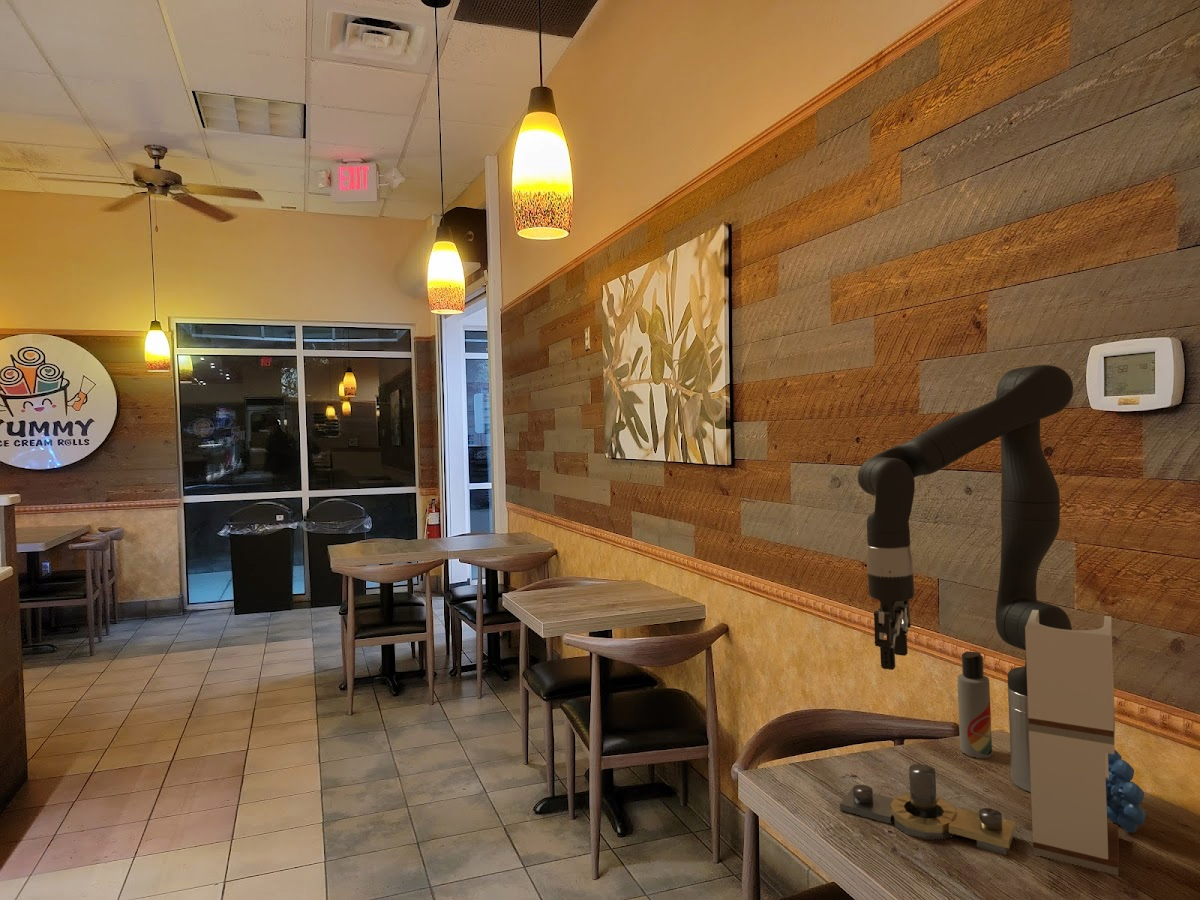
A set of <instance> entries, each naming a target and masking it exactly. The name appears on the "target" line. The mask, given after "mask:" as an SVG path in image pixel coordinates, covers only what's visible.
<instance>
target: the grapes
mask: <svg viewBox="0 0 1200 900" xmlns="http://www.w3.org/2000/svg"><path fill="white" fill-rule="evenodd" d="M1108 770H1109V779H1106V803H1107V819H1109V820H1110V821H1111V822H1112V823H1113V824H1116V825H1118V826H1120V827H1121V828H1122V829H1123V830H1125V831H1126V832H1128V833H1132V834H1133V833H1135V832H1137V830H1138V828H1139V826H1141V825H1142V824H1144V823H1145V820H1146V818H1147V817H1146V816H1147V813H1146V811H1145V810H1144V809H1143V807H1142V806H1141V805H1140V804H1141V803H1142V802H1143V800H1144V797H1145V792H1144V790H1143V789H1142V788H1141V787H1140V785H1138V783H1135V782H1134V781H1132V780H1134V779H1133V778H1134V776H1135V769H1134V768H1133V766H1132V765H1131V764H1130V763H1129V762H1128V761H1125V760H1124V759H1123V758H1122V755H1121V754H1120V753H1119V752H1118V751H1117V750H1116V749H1114V754H1109V753H1108Z"/></svg>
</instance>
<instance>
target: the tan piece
mask: <svg viewBox="0 0 1200 900" xmlns="http://www.w3.org/2000/svg"><path fill="white" fill-rule="evenodd" d="M873 790H874V789H873V788H872V787H871V786H869V785H866V784H856V785H854V786H853V787H852V788H851V789H850V791H849V792H848V793H847V794H846V795H845V797H844V798H843V799H842V800H841V802H840V803H839V811H840V810H842V811H841V812H843V811H845V812H844V813H847V812H849V813H848V814H851V813H853V814H852V815H854V814H856V815H855V816H858V815H860V816H859V817H862V816H863V817H862V818H866V817H867V818H866V819H869V818H870V820H873V819H874V821H878V820H879V821H878V822H880V821H881V822H880V823H884V822H887V823H886V824H888V823H890V824H889V825H892V823H894V824H893V825H895V826H894V828H896V829H898V830H899V831H901V832H902V831H903V834H906V835H907V836H910V837H914V836H915V838H917V837H918V839H921V840H924V841H925V840H926V841H927V840H928V841H930V840H931V841H932V840H933V841H944V840H947V839H950V838H952V837H955V836H959V837H960V836H961V837H964V838H967V839H972V840H975V841H976V848H978V849H981V850H985V851H989V852H991V853H995V854H999V855H1002V856H1006V855H1007V853H1008V850H1009V849H1010V847H1011V845H1012V841H1013V838H1014V835H1015V833H1016V829H1017V827H1016V821H1014V820H1010V819H1006V818H1003V814H1002V813H1001V812H1000V811H999V810H997V809H993V808H990V807H983V808H980V809H979V810H978V812H977V811H973V810H968V809H965V808H959V807H957V808H955V805H953V804H952V803H950V802H948V801H946V800H944V799H942V798H940V797H937V796H936V801H937V818H921V817H917V816H914V815H912V814H911V803H910V793H906V794H903V795H898V796H895V797H894V798H892V797H888V796H884V795H880V794H876V793H874V791H873ZM892 821H893V822H892ZM955 834H956V835H955ZM954 835H955V836H954ZM951 836H952V837H951ZM949 837H950V838H949ZM946 838H947V839H946ZM935 839H936V840H935ZM937 839H938V840H937ZM940 839H941V840H940ZM943 839H944V840H943Z"/></svg>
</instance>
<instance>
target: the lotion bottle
mask: <svg viewBox="0 0 1200 900" xmlns="http://www.w3.org/2000/svg"><path fill="white" fill-rule="evenodd" d="M961 667H962V669H961V670H962V673H959V674H958V675H957V679H956V680H957V702H958V704H957V705H958V707H957V708H958V728H959V729H958V731H959V748H960V752H961V751H962V752H963V753H965V754H966V755H965V754H964V755H965V756H967V755H968V756H967V757H970V756H971V757H970V758H973V757H976V758H975V759H988V758H990V757H991V756H993V755H992V754H993V739H992V738H993V737H992V717H991V716H992V715H991V714H992V713H991V712H992V711H991V693H990V692H991V691H990V687H991V685H990V679H989V677H987V676H986V675H984V657H983V655H982V654H981V653H980V652H979V651H965V652H963V653H962V654H961ZM962 752H961V753H962ZM963 753H962V754H963Z"/></svg>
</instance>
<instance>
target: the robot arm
mask: <svg viewBox="0 0 1200 900" xmlns="http://www.w3.org/2000/svg"><path fill="white" fill-rule="evenodd" d="M1073 393H1074V383H1073V380H1072V378H1071V377H1070V375H1069V373H1067V372H1066V370H1064V369H1062V368H1061V367H1059V366H1057V365H1050V364H1038V365H1031V366H1025V367H1022V366H1021V367H1017V368H1013V369H1010V370H1008V371H1007V372H1006V373H1004V374H1003V376H1002V377H1001V378H1000V379H999V381H998V384H997V387H996V397H995V399H992V400H991V401H988V402H987V403H986V404H983V405H980V406H978V407H976V408H974V409H970V410H967V411H966V412H963V413H961V414H958V415H955V416H953V417H950V418H948V419H945V420H944V421H943V420H942V422H940V423H937V424H935V425H934V426H932V427H930V428H929V429H926V431H923V432H922V433H920V434H918V435H916V436H915V437H912V439H910V440H909V441H908V440H907V441H906V442H904V443H901V444H898V445H896V446H894V447H893V446H892V447H891V448H888V449H886V450H884V451H882V452H879V453H877V454H875V455H873V456H871V457H870V458H868V459H867V460H866V461H864V463H862V465H861V466H860V468H859V470H858V472H857V482H858V485H859V487H860V488H861V489H862V490H863V491H864V492H865V493H867V494H868V495H871V496H874V497H875V500H874V511H873V512H871V513H869V514H868V516H867V519H866V536H867V537H866V538H867V539H866V541H867V542H866V543H867V552H866V566H867V567H866V569H867V583H868V585H867V587H868V595H869V597H870V598H872V599H873V600H878V602H880V604H879V608H878V610H874V612H873V620H874V623H873V624H874V625H873V626H874V646H875V647H878V648H879V654H880V667H881V668H882V669H883V670H892V671H893V670H895V668H896V656H902V657H903V656H904V657H906V656H907V655H908V634H909V629H911V626H912V625H911V624H912V623H911V614H910V600H911V599H913V598H914V597H915V580H914V562H913V553H912V548H911V534H910V533H911V531H910V530H911V529H910V523H909V522H910V517H911V513H912V510H913V509H912V508H913V503H914V496H915V488H916V487H915V486H916V485H915V484H916V482H915V478H916V477H919V476H926V475H931V474H935V473H936V472H938V471H940V470H942V469H944V468H946V467H948V466H949V465H950V464H952V463H954V462H956V461H958V460H959V459H962V457H964V456H966V455H967V454H969V453H971V452H973V451H974V450H976V449H978V448H980V447H982V446H984V445H987V443H988V444H989V443H990V442H992V441H994V440H995V439H997V438H1000V454H1001V457H1000V466H1001V470H1000V471H1001V475H1000V476H1001V487H1000V489H1001V490H1000V491H1001V492H1000V524H1001V525H1000V526H1001V536H1000V537H1001V543H1000V544H1001V546H1000V572H999V581H998V589H997V596H996V597H997V598H996V604H995V605H996V606H995V627H996V630H997V634H998V635H999V637H1000V638H1001V640H1002V641H1003V642H1005V643H1006V644H1008V645H1010V646H1012V647H1014V648H1017V649H1019V650H1023V651H1025V652H1026V639H1025V626H1026V624H1027V622H1028V619H1029V617H1030V614H1031V612H1032V610H1039V624H1041V625H1044V626H1047V627H1052V628H1057V629H1065V630H1073V628H1072V627H1073V626H1072V624H1071V623H1072V622H1071V620H1070V618H1069V616H1068V614H1067V613H1066V612H1065V610H1064V609H1062V608H1061V607H1058V606H1056V605H1054V604H1050V603H1046V602H1043V601H1039V600H1038V598H1037V596H1038V595H1037V579H1038V573H1039V569H1040V568H1039V567H1040V566H1041V563H1042V561H1043V559H1044V558H1045V557H1046V555H1047V554H1048V552H1049V550H1050V549H1051V547H1052V545H1053V543H1054V542H1055V540H1056V538H1057V536H1058V533H1059V531H1060V525H1061V523H1060V522H1061V520H1060V517H1061V516H1060V515H1061V513H1060V512H1061V510H1060V509H1061V503H1060V502H1061V495H1060V489H1059V486H1058V483H1057V481H1056V478H1055V476H1054V473H1053V471H1052V469H1051V467H1050V465H1049V463H1048V461H1047V459H1046V456H1045V453H1044V451H1043V448H1042V443H1041V420H1042V419H1046V418H1048V417H1051V416H1053V415H1056V414H1058V413H1060V412H1062V411H1063V410H1064V409H1065V408H1066V407H1067V406H1068V405H1069V403H1070V402H1071V400H1072V398H1073ZM885 636H886V639H884V637H885ZM1024 662H1025V663H1024V666H1023V665H1022V666H1018V667H1014V668H1012V669H1010V670H1009V671H1008V673H1007V693H1008V694H1007V695H1008V696H1007V697H1008V698H1007V699H1008V701H1007V702H1008V719H1009V720H1008V722H1009V723H1008V724H1009V725H1008V727H1009V748H1010V750H1009V751H1010V775H1011V781H1012V783H1013V784H1014V785H1015V786H1016V787H1018V788H1020V789H1021V790H1024V791H1026V792H1029V793H1031V775H1030V748H1029V720H1028V693H1027V666H1026V658H1025V661H1024Z"/></svg>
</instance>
